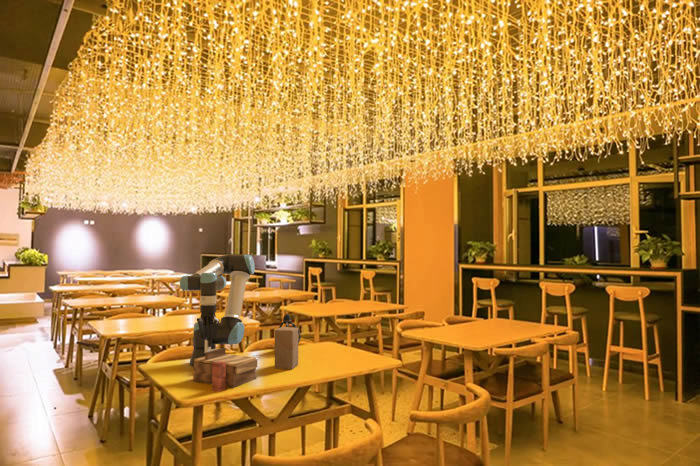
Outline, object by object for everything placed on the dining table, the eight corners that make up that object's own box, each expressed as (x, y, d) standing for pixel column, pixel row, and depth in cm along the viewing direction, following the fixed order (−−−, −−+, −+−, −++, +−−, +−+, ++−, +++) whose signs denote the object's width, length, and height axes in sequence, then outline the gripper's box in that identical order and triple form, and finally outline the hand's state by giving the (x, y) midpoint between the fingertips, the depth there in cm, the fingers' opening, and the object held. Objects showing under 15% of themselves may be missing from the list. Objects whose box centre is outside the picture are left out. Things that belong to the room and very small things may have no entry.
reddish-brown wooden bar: (218, 388, 203) (218, 360, 203) (225, 389, 201) (225, 361, 201) (212, 390, 199) (212, 362, 200) (219, 391, 197) (219, 363, 198)
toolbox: (193, 381, 213) (193, 362, 214) (217, 373, 228) (217, 355, 228) (233, 387, 203) (233, 367, 203) (255, 378, 217) (256, 359, 217)
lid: (194, 368, 214) (194, 352, 214) (216, 361, 227) (216, 346, 228) (236, 374, 203) (236, 357, 203) (257, 367, 216) (257, 350, 216)
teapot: (284, 355, 267) (284, 315, 268) (266, 348, 287) (267, 311, 288) (302, 352, 274) (302, 314, 275) (284, 345, 294) (284, 309, 295)
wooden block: (292, 369, 234) (292, 330, 235) (274, 368, 236) (274, 329, 237) (298, 364, 244) (298, 327, 245) (280, 364, 246) (281, 326, 247)
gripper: (192, 304, 221) (192, 353, 220) (212, 305, 215) (212, 356, 214) (203, 303, 228) (203, 350, 226) (223, 304, 222) (223, 353, 221)
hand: (207, 353), depth 220 cm, fingers closed
